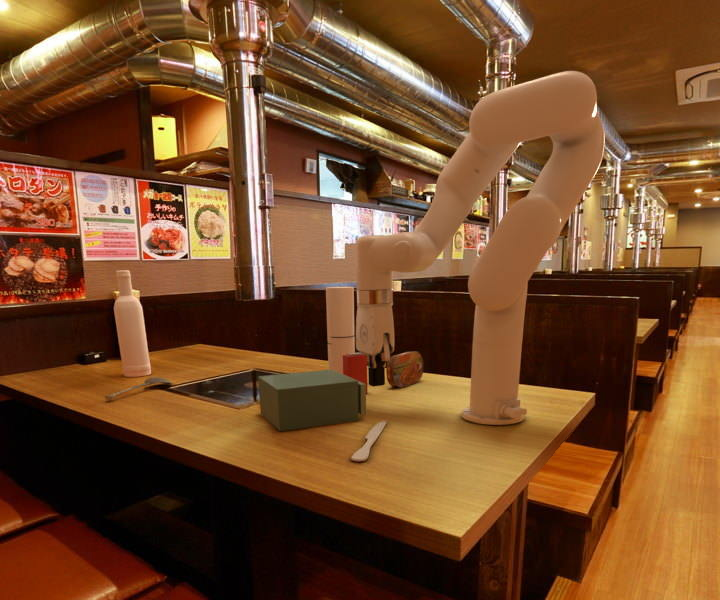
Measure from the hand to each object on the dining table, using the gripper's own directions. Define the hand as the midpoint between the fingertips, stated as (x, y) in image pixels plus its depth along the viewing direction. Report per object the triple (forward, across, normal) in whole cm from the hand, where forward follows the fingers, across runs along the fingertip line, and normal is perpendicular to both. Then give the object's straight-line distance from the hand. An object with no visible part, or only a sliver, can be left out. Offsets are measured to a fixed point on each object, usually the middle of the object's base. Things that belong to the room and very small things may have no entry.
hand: (376, 385), depth 122 cm
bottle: (+4, -72, -45) cm, 85 cm away
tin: (+6, -20, +18) cm, 28 cm away
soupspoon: (+5, -45, -46) cm, 65 cm away
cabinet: (+5, -1, -16) cm, 17 cm away
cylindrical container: (+5, -30, +4) cm, 31 cm away
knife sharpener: (+5, -16, +2) cm, 17 cm away
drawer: (+4, -1, -13) cm, 13 cm away
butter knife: (+6, +20, -11) cm, 24 cm away
